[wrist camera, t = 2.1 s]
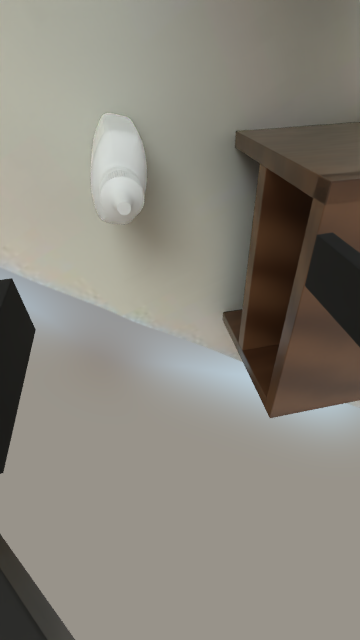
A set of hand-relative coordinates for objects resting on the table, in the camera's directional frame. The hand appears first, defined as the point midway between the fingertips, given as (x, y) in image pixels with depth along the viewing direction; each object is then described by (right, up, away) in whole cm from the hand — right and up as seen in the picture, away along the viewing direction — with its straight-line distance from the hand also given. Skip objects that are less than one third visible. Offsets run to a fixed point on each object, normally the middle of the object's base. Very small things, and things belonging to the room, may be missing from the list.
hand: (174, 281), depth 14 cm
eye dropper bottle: (-5, +12, +11) cm, 17 cm away
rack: (+11, +7, +19) cm, 23 cm away
